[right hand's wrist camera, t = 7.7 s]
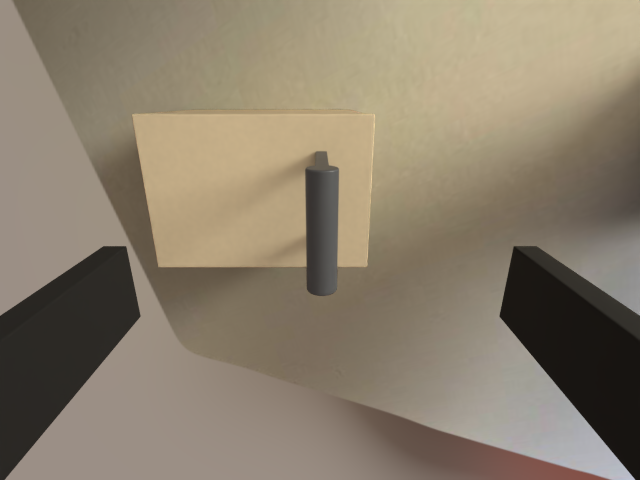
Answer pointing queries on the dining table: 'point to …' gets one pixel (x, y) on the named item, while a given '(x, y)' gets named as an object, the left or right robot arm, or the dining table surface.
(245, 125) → the lid
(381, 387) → the dining table surface
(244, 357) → the dining table surface
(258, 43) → the dining table surface
